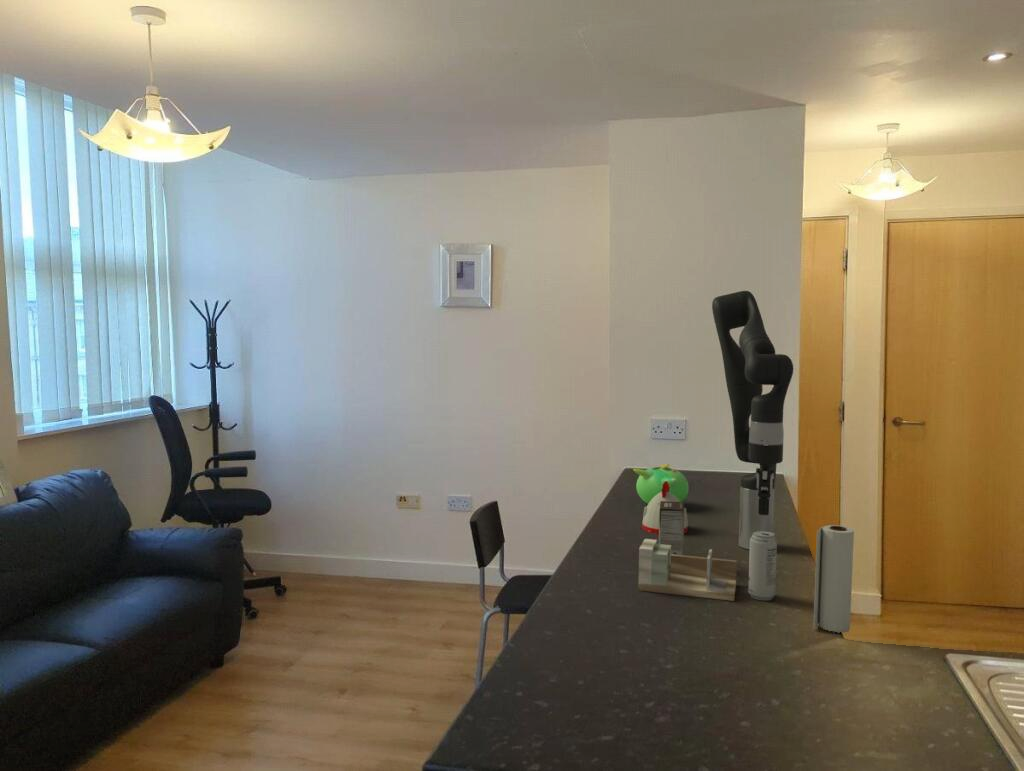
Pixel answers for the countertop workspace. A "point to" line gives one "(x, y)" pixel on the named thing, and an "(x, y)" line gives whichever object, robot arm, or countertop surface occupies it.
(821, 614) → the paper towel roll
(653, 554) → the wooden desk organizer
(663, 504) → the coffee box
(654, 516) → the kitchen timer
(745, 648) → the countertop surface
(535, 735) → the countertop surface
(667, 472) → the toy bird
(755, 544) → the energy drink can
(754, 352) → the robot arm
